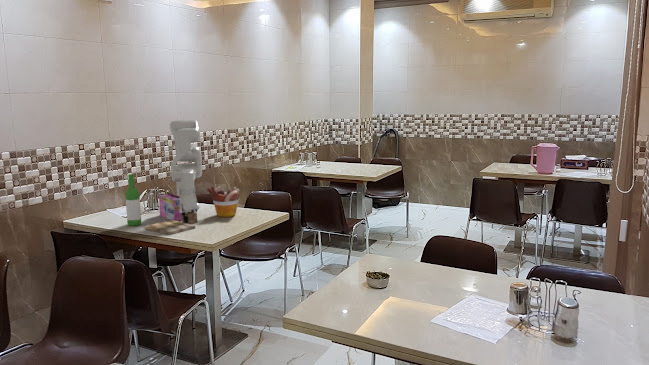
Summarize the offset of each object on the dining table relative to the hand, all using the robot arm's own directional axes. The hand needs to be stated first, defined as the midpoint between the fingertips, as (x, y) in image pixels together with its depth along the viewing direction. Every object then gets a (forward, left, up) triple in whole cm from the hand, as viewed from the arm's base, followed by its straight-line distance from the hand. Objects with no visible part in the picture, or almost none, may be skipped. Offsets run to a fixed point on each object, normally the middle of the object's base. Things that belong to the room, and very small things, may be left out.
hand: (189, 221), depth 304 cm
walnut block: (0, 0, -1) cm, 1 cm away
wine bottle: (+23, -22, -1) cm, 32 cm away
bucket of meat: (-25, +4, -1) cm, 25 cm away
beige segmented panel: (+16, -2, 0) cm, 16 cm away
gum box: (-2, -19, -1) cm, 19 cm away
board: (+16, +9, -1) cm, 19 cm away
